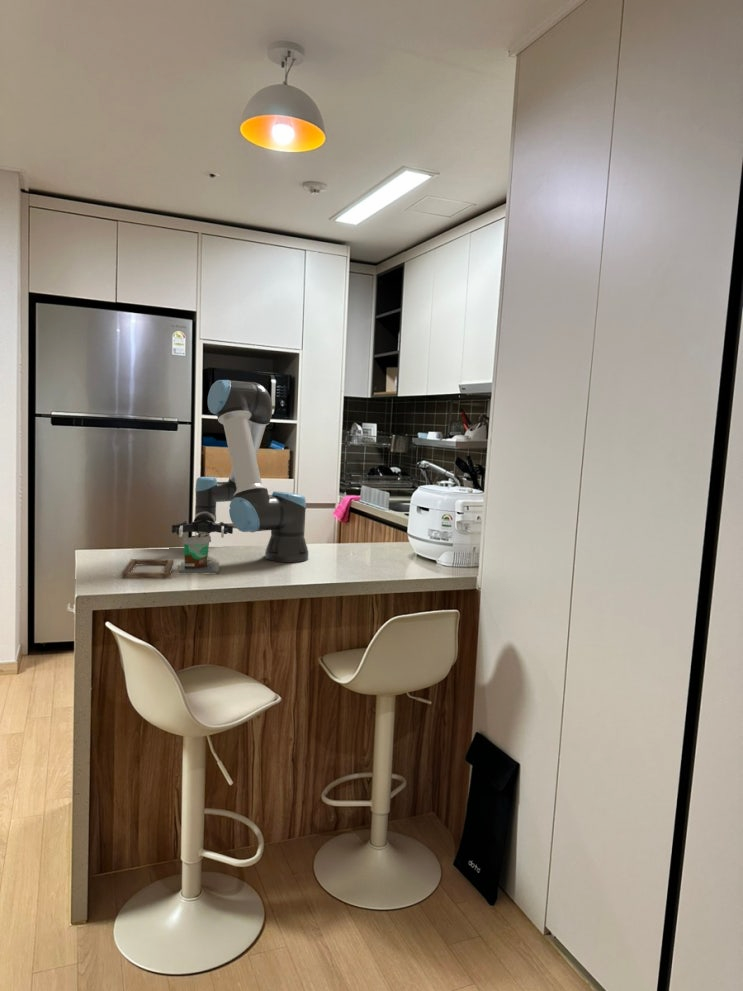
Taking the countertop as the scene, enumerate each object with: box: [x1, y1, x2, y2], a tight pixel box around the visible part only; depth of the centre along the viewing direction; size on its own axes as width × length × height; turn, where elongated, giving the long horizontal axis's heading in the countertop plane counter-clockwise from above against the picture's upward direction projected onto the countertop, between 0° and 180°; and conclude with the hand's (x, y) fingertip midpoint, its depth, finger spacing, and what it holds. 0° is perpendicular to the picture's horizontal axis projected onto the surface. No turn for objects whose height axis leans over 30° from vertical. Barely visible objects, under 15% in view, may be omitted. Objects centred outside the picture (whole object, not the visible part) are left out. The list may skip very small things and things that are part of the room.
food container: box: [182, 532, 212, 569], centre depth 218 cm, size 12×6×10 cm, turn 171°
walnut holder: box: [121, 558, 175, 579], centre depth 213 cm, size 13×19×2 cm
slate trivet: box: [177, 561, 220, 574], centre depth 219 cm, size 12×12×1 cm
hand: (201, 533), depth 227 cm, fingers open, 13 cm apart
